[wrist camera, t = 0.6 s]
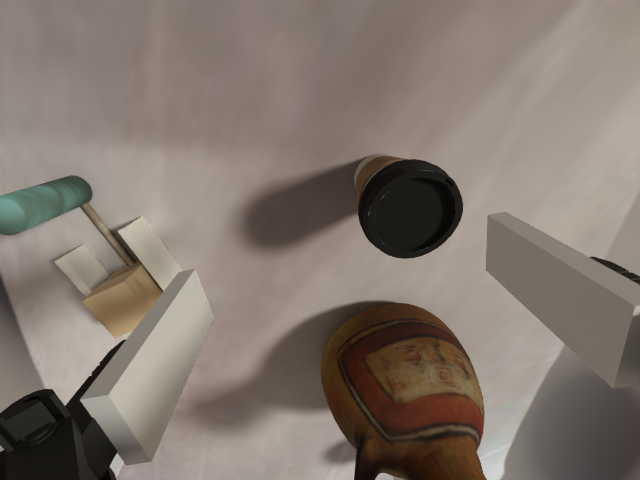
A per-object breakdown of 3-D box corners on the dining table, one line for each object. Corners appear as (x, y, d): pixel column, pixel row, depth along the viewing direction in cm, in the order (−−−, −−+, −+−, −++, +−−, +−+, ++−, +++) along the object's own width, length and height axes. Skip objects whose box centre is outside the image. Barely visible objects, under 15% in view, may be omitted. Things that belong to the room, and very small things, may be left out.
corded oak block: (46, 187, 38) (-39, 213, 28) (86, 166, 37) (12, 186, 28) (143, 304, 45) (100, 356, 35) (178, 289, 44) (144, 337, 35)
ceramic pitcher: (453, 374, 52) (616, 675, 24) (336, 400, 53) (366, 711, 26) (441, 276, 44) (657, 552, 17) (305, 308, 46) (300, 612, 18)
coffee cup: (425, 172, 38) (490, 208, 25) (379, 223, 41) (415, 282, 27) (374, 127, 36) (415, 140, 22) (329, 184, 39) (341, 228, 25)
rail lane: (76, 247, 41) (53, 261, 37) (143, 215, 39) (125, 227, 36) (143, 325, 46) (128, 344, 42) (203, 299, 45) (194, 317, 41)
